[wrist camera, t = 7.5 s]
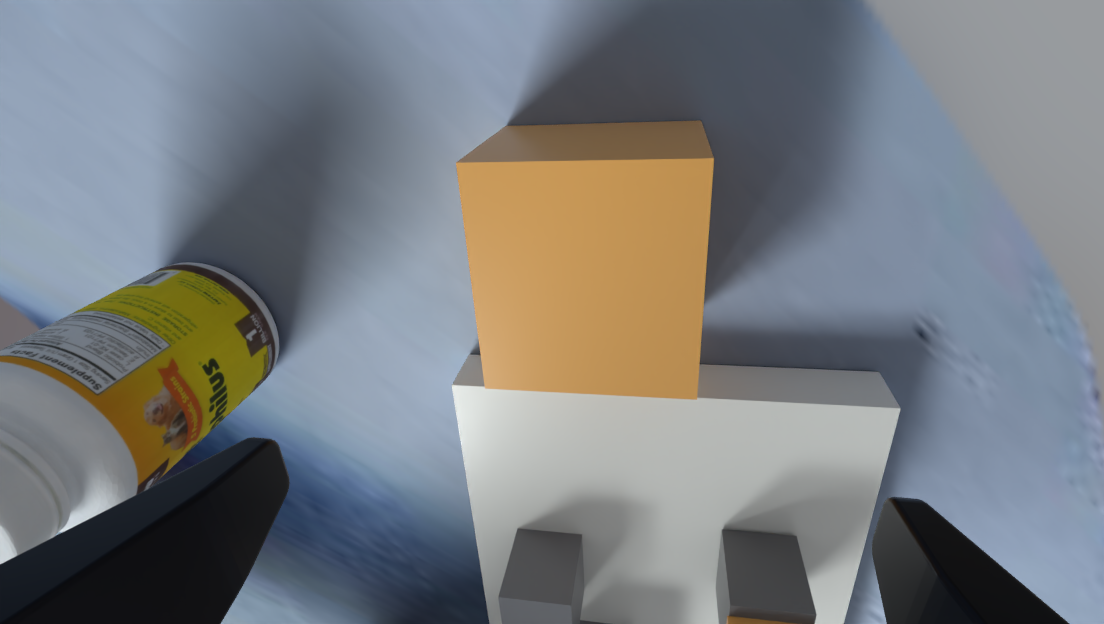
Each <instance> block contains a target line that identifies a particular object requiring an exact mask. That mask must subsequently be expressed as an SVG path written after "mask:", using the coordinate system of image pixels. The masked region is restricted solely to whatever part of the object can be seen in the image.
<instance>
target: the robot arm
mask: <svg viewBox="0 0 1104 624" xmlns="http://www.w3.org/2000/svg"><path fill="white" fill-rule="evenodd" d="M289 483H290V482H289V475H288V472H287V469H286V465H285V462H284V459H283V456H282V453H281V450H280V447H279V445H278V443H277V442H276V441H275V440H272V439H265V438H247V439H245V440H243V441H241V442H239V443H237V444H235V445H233V446H231V447H229V448H227V449H225V450H223V451H221V452H219V453H217V454H215V455H213V456H211V457H210V458H208V459H206V460H204V461H202V462H200V463H198V464H196V465H194V466H192V467H190V468H188V469H186V470H184V471H182V472H180V473H178V474H176V475H174V476H172V477H170V478H168V479H166V480H164V481H162V482H161V483H159V484H157V485H155V486H153V487H151V488H149V489H147V490H145V491H143V492H141V493H139V494H137V495H135V496H133V497H131V498H129V499H127V500H125V501H123V502H121V503H119V504H117V505H115V506H113V507H111V508H110V509H108V510H106V511H104V512H102V513H100V514H98V515H96V516H94V517H92V518H90V519H88V520H86V521H84V522H82V523H80V524H78V525H76V526H74V527H72V528H70V529H68V530H66V531H64V532H62V533H61V534H59V535H57V536H55V537H53V538H51V539H49V540H47V541H45V542H43V543H41V544H39V545H37V546H35V547H33V548H31V549H29V550H27V551H25V552H23V553H21V554H19V555H17V556H15V557H13V558H12V559H10V560H8V561H6V562H4V563H2V564H0V624H221V622H222V620H223V619H224V617H225V615H226V614H227V612H228V610H229V608H230V607H231V605H232V603H233V602H234V600H235V598H236V597H237V595H238V593H239V591H240V590H241V588H242V586H243V584H244V582H245V580H246V578H247V576H248V575H249V573H250V571H251V569H252V567H253V565H254V563H255V560H256V558H257V556H258V554H259V552H260V550H261V548H262V546H263V544H264V541H265V539H266V537H267V535H268V533H269V531H270V529H271V527H272V525H273V522H274V520H275V518H276V516H277V514H278V512H279V510H280V508H281V506H282V504H283V501H284V499H285V497H286V495H287V492H288V489H289ZM872 555H873V560H874V565H875V570H876V575H877V579H878V584H879V589H880V593H881V598H882V603H883V607H884V612H885V617H886V622H887V624H1069V623H1068V622H1067V621H1066V620H1064V619H1063V618H1062V617H1061V616H1060V615H1058V614H1057V613H1056V612H1055V611H1054V610H1053V609H1051V608H1050V607H1049V606H1048V605H1047V604H1045V603H1044V602H1043V601H1042V600H1041V599H1039V598H1038V597H1037V596H1036V595H1035V594H1034V593H1032V592H1031V591H1030V590H1029V589H1028V588H1026V587H1025V586H1024V585H1023V584H1022V583H1021V582H1019V581H1018V580H1017V579H1016V578H1015V577H1013V576H1012V575H1011V574H1010V573H1009V572H1008V571H1006V570H1005V569H1004V568H1003V567H1002V566H1000V565H999V564H998V563H997V562H996V561H995V560H993V559H992V558H991V557H990V556H989V555H987V554H986V553H985V552H984V551H983V550H982V549H980V548H979V547H978V546H977V545H976V544H974V543H973V542H972V541H971V540H970V539H969V538H967V537H966V536H965V535H964V534H963V533H961V532H960V531H959V530H958V529H957V528H955V527H954V526H953V525H952V524H951V523H950V522H948V521H947V520H946V519H945V518H944V517H942V516H941V515H940V514H939V513H938V512H937V511H935V510H934V509H933V508H932V507H931V506H929V505H928V504H927V503H925V502H924V501H922V500H919V499H911V498H901V497H890V498H888V499H887V500H886V501H885V503H884V505H883V508H882V511H881V514H880V517H879V521H878V524H877V527H876V530H875V534H874V537H873V541H872Z"/></svg>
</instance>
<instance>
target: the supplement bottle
mask: <svg viewBox="0 0 1104 624" xmlns="http://www.w3.org/2000/svg"><path fill="white" fill-rule="evenodd" d="M278 355H279V336H278V331H277V327H276V324H275V322H274V319H273V317H272V315H271V313H270V311H269V310H268V308H267V306H266V305H265V303H264V302H263V301H262V299H261V298H260V297H259V296H258V295H257V294H256V293H255V292H254V291H253V290H252V289H251V288H250V287H249V286H248V285H247V284H245V283H244V282H243V281H242V280H240V279H239V278H237V277H236V276H234V275H232V274H230V273H228V272H226V271H224V270H222V269H220V268H217V267H214V266H211V265H207V264H202V263H194V262H185V263H177V264H172V265H169V266H166V267H163V268H161V269H159V270H157V271H155V272H153V273H151V274H149V275H147V276H145V277H143V278H141V279H139V280H137V281H135V282H133V283H131V284H129V285H127V286H125V287H123V288H121V289H119V290H117V291H115V292H113V293H111V294H109V295H107V296H105V297H103V298H102V299H100V300H98V301H96V302H94V303H92V304H89V305H88V306H86V307H84V308H82V309H80V310H78V311H76V312H74V313H72V314H70V315H68V316H66V317H64V318H62V319H61V320H59V321H56V322H54V323H52V324H51V325H49V326H47V327H45V328H43V329H41V330H39V331H37V332H35V333H33V334H31V335H29V336H27V337H26V338H24V339H22V340H20V341H18V342H16V343H14V344H12V345H10V346H8V347H6V348H4V349H2V350H0V564H2V563H4V562H6V561H8V560H10V559H12V558H13V557H15V556H17V555H19V554H21V553H23V552H25V551H27V550H29V549H31V548H33V547H35V546H37V545H39V544H41V543H43V542H45V541H47V540H49V539H51V538H53V537H55V535H56V534H57V533H58V532H64V531H66V530H68V529H70V528H72V527H74V526H76V525H78V524H80V523H82V522H84V521H86V520H88V519H90V518H92V517H94V516H96V515H98V514H100V513H102V512H104V511H106V510H108V509H110V508H111V507H113V506H115V505H117V504H119V503H121V502H123V501H125V500H127V499H129V498H131V497H133V496H135V495H137V494H139V493H141V492H143V491H145V490H147V489H149V488H150V487H151V486H152V485H154V484H155V483H156V482H157V481H158V480H159V479H160V478H161V477H162V476H163V475H164V474H165V473H166V472H167V471H168V470H169V469H170V468H171V467H172V466H174V465H175V464H176V463H177V462H178V461H179V460H180V459H181V458H182V457H183V456H184V455H185V454H186V453H187V452H189V451H190V450H191V449H192V448H193V447H194V446H195V445H196V444H197V443H198V442H200V441H201V440H202V439H203V438H204V437H205V436H206V435H207V434H208V433H209V432H210V431H211V430H212V429H214V428H215V427H216V426H217V425H218V424H219V423H220V422H221V421H222V420H223V419H224V418H225V417H226V416H227V415H228V414H229V413H231V412H232V411H233V410H234V409H235V408H236V407H237V406H238V405H239V404H240V403H241V402H242V401H243V400H245V399H246V398H247V397H248V396H249V395H250V394H251V393H252V392H253V391H254V390H255V389H256V388H257V387H258V386H259V385H260V384H261V383H262V382H263V381H264V380H265V379H266V378H267V377H268V376H269V375H270V373H271V372H272V370H273V369H274V367H275V365H276V362H277V359H278Z"/></svg>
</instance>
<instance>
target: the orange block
mask: <svg viewBox="0 0 1104 624" xmlns="http://www.w3.org/2000/svg"><path fill="white" fill-rule="evenodd" d="M456 166H457V174H458V182H459V190H460V198H461V205H462V213H463V221H464V229H465V237H466V245H467V252H468V260H469V268H470V276H471V284H472V291H473V299H474V307H475V315H476V323H477V331H478V338H479V346H480V354H481V362H482V370H483V378H484V385H485V389H502V390H521V391H540V392H559V393H578V394H597V395H616V396H635V397H654V398H673V399H692V400H697V393H698V379H699V364H700V350H701V336H702V322H703V308H704V294H705V280H706V266H707V251H708V237H709V223H710V209H711V195H712V181H713V167H714V157H713V154H712V151H711V148H710V145H709V142H708V139H707V136H706V133H705V130H704V127H703V124H702V122H701V120H699V121H663V122H628V123H592V124H556V125H521V126H505V127H504V128H502V129H501V130H500V131H498V132H497V133H496V134H494V135H493V136H491V137H490V138H489V139H487V140H486V141H485V142H483V143H482V144H481V145H479V146H478V147H477V148H475V149H474V150H473V151H471V152H470V153H469V154H467V155H466V156H464V157H463V158H462V159H460V160H459V161H458V162H456Z"/></svg>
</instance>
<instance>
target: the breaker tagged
mask: <svg viewBox="0 0 1104 624" xmlns="http://www.w3.org/2000/svg"><path fill="white" fill-rule="evenodd" d="M716 597H717V609H718V620H719V624H815V620H816V616H817V614H816V610H815V606H814V602H813V598H812V595H811V591H810V587H809V583H808V579H807V575H806V571H805V567H804V563H803V559H802V555H801V551H800V547H799V543H798V539H797V536H792V535H781V534H770V533H759V532H748V531H736V530H725V529H722V531H721V540H720V550H719V559H718V568H717V578H716Z"/></svg>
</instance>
